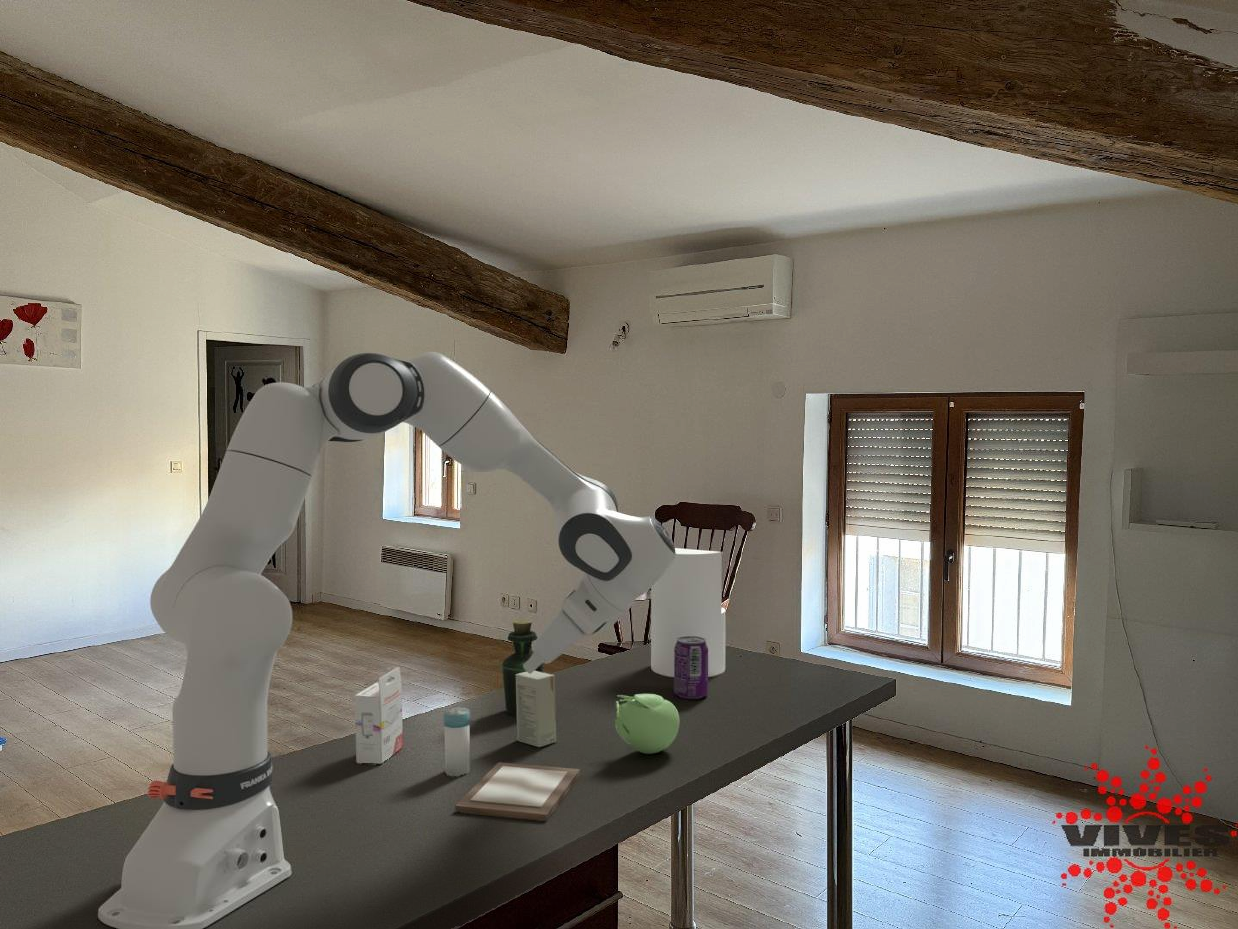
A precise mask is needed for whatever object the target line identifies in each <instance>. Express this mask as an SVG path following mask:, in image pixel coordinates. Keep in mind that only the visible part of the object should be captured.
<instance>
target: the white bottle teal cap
mask: <svg viewBox="0 0 1238 929" xmlns="http://www.w3.org/2000/svg"><path fill="white" fill-rule="evenodd" d="M470 724H471V709H468V708H466V707H452V708H451V707H450V708H449V709H446V710H444V711H443V726H444V774H445V773H448V774H450V775H461V774H465V773H468V772H469V771H470V772H471V767H470V764H471V760H470V759H471V756H470V755H471V751H470V750H471V749H470V745H471V744H470V743H471V742H470V741H471V740H470V734H471V733H470ZM470 772H469V773H470ZM469 773H468V774H469Z"/></svg>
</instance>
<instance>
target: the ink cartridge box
mask: <svg viewBox="0 0 1238 929" xmlns="http://www.w3.org/2000/svg"><path fill="white" fill-rule="evenodd" d="M389 678H392V681H390V682H387V681H388V680H390V679H389ZM353 697H354V718H355V719H354V721H355V722H354V723H355V750H356V751H355V753H356V754H355V758H356V760H355V762H357V763H356V764H362V763H379V764H380V763H383V762H384V761H385V760H387V759H388V760H390V759H391V758H392V757H393V756H394V755H396V754H397V753H398V752H399V751H400V750H399V749H400V748H402V749H403V747H404V746H403V743H404V742H403V741H404V740H403V738H404V737H403V734H404V733H403V684H402V676H401V668H400V666H397V667H396V668H394V669H391V670H390V671H389V672H387V673H385V674H384V675H382V676H380V677H379V678H378V680H377V681H376V682H374V683H373V684H371V685H370V686H369V687H366V688H365V689H363V690H362V691H360V692H358V693H356V694H354V695H353ZM398 750H399V751H398ZM397 751H398V752H397ZM396 752H397V753H396ZM395 753H396V754H395ZM393 754H394V755H393ZM392 755H393V756H392ZM391 756H392V757H391ZM390 757H391V758H390ZM389 758H390V759H389ZM388 760H387V761H388ZM383 764H384V763H383Z"/></svg>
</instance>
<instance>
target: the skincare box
mask: <svg viewBox="0 0 1238 929" xmlns="http://www.w3.org/2000/svg"><path fill="white" fill-rule="evenodd" d="M555 677H556V676H555V674H551V673H547V672H539V671H535V670H534V671H533V672H532V673H531V674H530V673H528V672H523V673H519V674H516V706H517V716H516V735H517V737H516V738H517V740H516V741H519V742H521V743H524V744H528V745H531V746H534V747H538V748H541V747H544V746H548V745H550V744H554V743H555V742H557V718H556V717H557V715H556V712H557V711H556V678H555Z"/></svg>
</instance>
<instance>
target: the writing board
mask: <svg viewBox="0 0 1238 929" xmlns="http://www.w3.org/2000/svg"><path fill="white" fill-rule="evenodd" d="M580 776H581V769H580V768H579V769H578V768H568V767H559V766H545V765H534V764H523V763H521V764H520V763H509V762H500V761H498V762H497V763H496V764H495V765H494V766H493V767H492V768H491V769H490V770H489V771H488V772H487V773H486V774H485V775H484V776H483V777H482V778H481V779H480V781H478V782H477V783H476V784H475V785H474V786H473V787H472V789H470V791H469V792H467V794H465V795H464V796H463V798H461V799H460V800H459V801H458V803H457V804H455V806H454V807H455V810H454V812H455V813H457V812H460V813H459V814H467V815H477V816H488V817H498V818H500V817H501V818H510V819H517V820H527V821H528V820H531V821H538V822H539V821H541V822H547V821H548V820H549V819H550V818H551V816H552V815H553V813H554V812H555V811H556V809H557V808H558V807H559V805H560V804H561V802H562V801H563V799H564V798H565V797H566V795H567V794H568V793H569V792H570V789H572V787H573V786H574V785H575V783H576V782H577V780H578V779H579V778H580ZM468 813H469V814H468Z"/></svg>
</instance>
